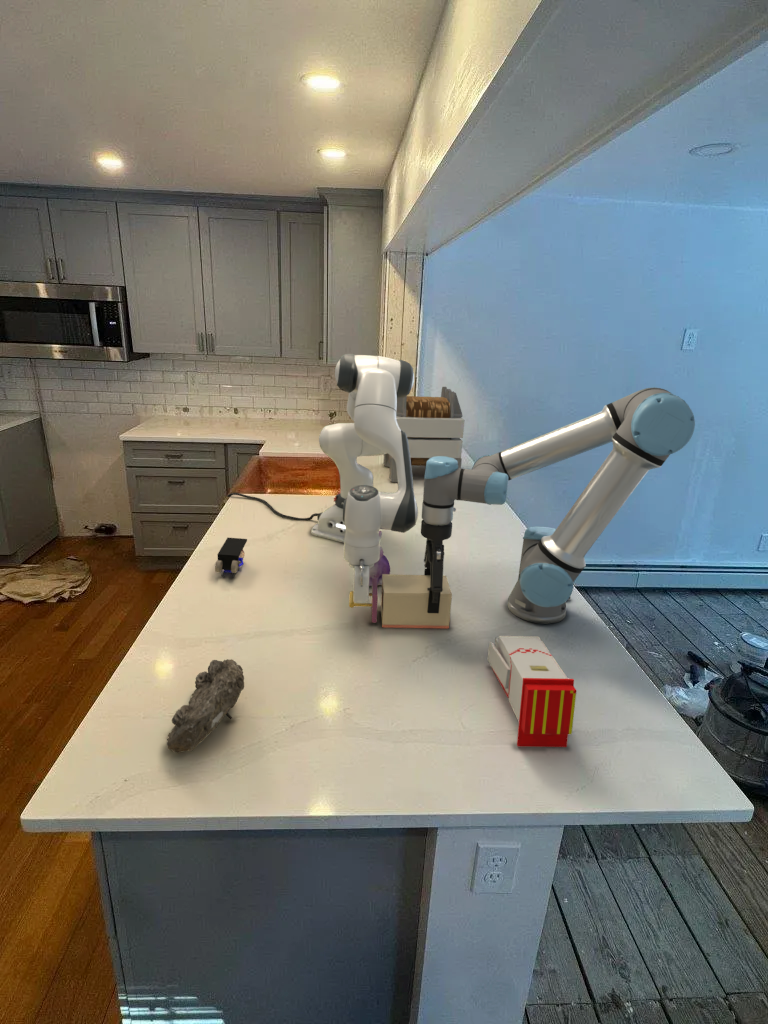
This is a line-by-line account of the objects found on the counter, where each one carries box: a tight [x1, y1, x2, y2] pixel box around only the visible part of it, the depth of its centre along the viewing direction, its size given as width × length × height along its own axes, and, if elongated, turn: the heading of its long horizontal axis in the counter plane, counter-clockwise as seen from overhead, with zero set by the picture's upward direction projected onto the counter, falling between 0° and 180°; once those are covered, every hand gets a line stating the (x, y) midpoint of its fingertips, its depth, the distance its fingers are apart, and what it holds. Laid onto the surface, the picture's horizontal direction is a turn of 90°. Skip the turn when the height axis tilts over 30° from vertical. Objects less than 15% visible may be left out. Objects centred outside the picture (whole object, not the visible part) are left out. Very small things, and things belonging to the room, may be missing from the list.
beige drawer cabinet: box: [380, 573, 453, 629], centre depth 145 cm, size 17×10×10 cm, turn 92°
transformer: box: [383, 386, 465, 483], centre depth 268 cm, size 34×33×41 cm
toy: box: [486, 635, 577, 748], centre depth 115 cm, size 12×13×30 cm
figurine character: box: [214, 537, 248, 578], centre depth 166 cm, size 7×8×15 cm
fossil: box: [166, 658, 245, 754], centre depth 106 cm, size 22×10×15 cm
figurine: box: [369, 530, 391, 587], centre depth 162 cm, size 9×10×15 cm
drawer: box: [348, 578, 384, 624], centre depth 144 cm, size 21×9×8 cm, turn 92°
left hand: (360, 601), depth 144 cm, fingers closed
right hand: (430, 601), depth 145 cm, fingers closed on beige drawer cabinet, 10 cm apart
